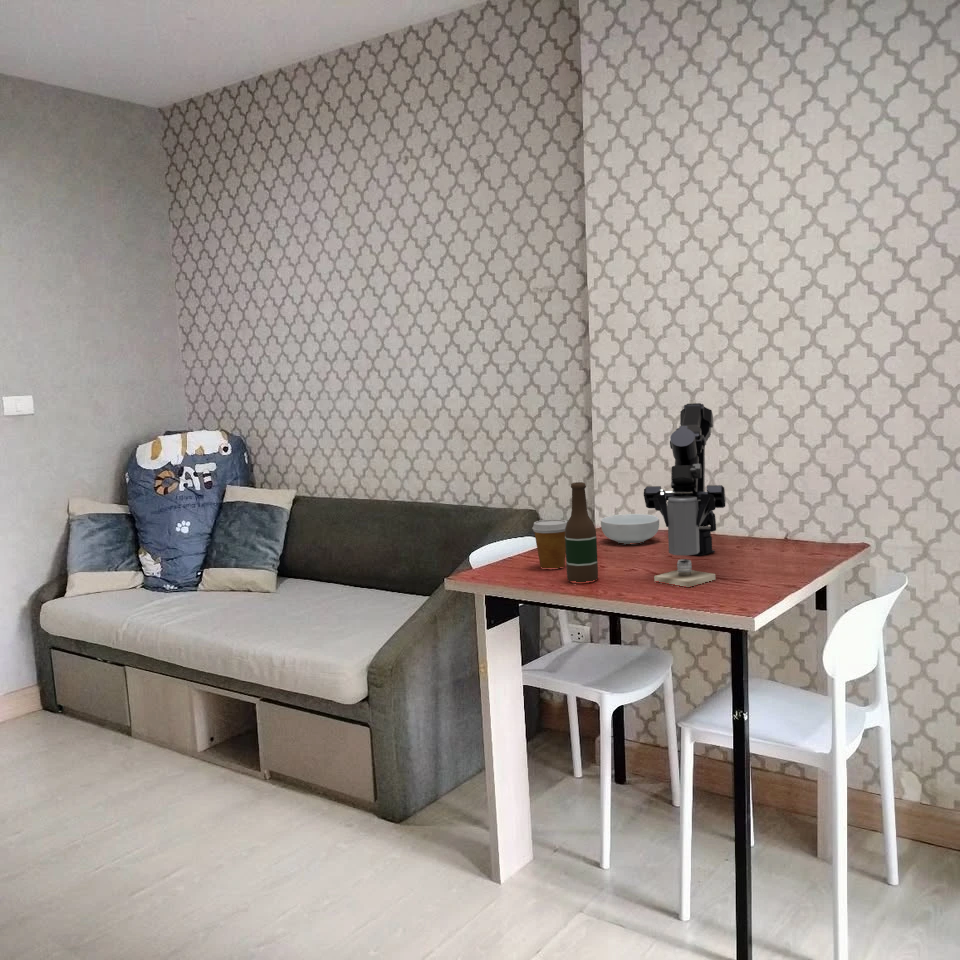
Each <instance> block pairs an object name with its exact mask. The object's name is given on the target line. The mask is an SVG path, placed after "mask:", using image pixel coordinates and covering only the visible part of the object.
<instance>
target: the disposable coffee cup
mask: <svg viewBox="0 0 960 960" xmlns="http://www.w3.org/2000/svg"><path fill="white" fill-rule="evenodd" d="M567 522H568V520H566V519H565V520H564V519H542V520H537V521H534V522H533V526H532V530H533V533H534V539H535V542H536V543H535V544H536V549H537V554H538V561H539V566H540V567H542V568H560V567H564V566H565V565H566V547H565V528H566V524H567ZM564 568H565V567H564Z"/></svg>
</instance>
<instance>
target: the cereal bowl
mask: <svg viewBox="0 0 960 960" xmlns="http://www.w3.org/2000/svg"><path fill="white" fill-rule="evenodd" d="M600 526H601V532H602V533H603V535H604V536H605V537H606V538H608V539H609V540H612V541H615V542H616V543H617V542H618V543H617V544H619V543H624V544H623V545H626V544H630V543H640V542H643V543H645V542H644V541H647V540H650V539H652V538H653V537H654V536H655V535H656V534H657V533H658V532H659V529H660V518H659V517H658V516H657V515H654V514H648V513H624V514H623V513H622V514H614V515H610V516H605V517H602V518H601V519H600ZM640 544H641V543H640Z"/></svg>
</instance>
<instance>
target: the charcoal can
mask: <svg viewBox="0 0 960 960" xmlns="http://www.w3.org/2000/svg"><path fill="white" fill-rule="evenodd" d="M667 512H668V527H667V530H668V533H667V536H668V537H667V538H668V541H667V542H668V554H670V555H673V556H692V555H693V556H695V555H694V554H698V553H699V552H700V548H699V527H698V525H697V520H698V500H697V497H695V496H674V497H669V498H668V500H667Z"/></svg>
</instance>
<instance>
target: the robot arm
mask: <svg viewBox="0 0 960 960" xmlns="http://www.w3.org/2000/svg"><path fill="white" fill-rule="evenodd" d="M679 419H680V421H679V422H680V423H679V424H680V425H679V427H678V428H676V429H675V431H673V432H672V433H671V435H670V440H669V447H670V449H671V450H672V456H673V458H674V465H673V466H671V476H670V477H671V479H670V487H671V489H672V491H671V490H670V491H669V490H667V491H666V490H664V489H662V486H661V485H660V486H659V485H653V486H652V485H651V486H650V485H649V486H646V487H645V488H644V489H643V497H644V498H643V499H644V503H645V507H646V508H648V509H655V511H658V512H659V513H660V514H661V515H662V517H663V520H664V521H663V522H664V523H665V526H666V527H667V528H668V512H667V502H668V498H669V497H674V496H695V497H697V500H698V520H697V525H698V527H699V548H700V552H699V553H698V554H694V555H693V556H698V557H700V556H705V555H709V554H712V553H716V552H715V551H716V550H715V549H713V536H712V533H713V532H715V531H717V522H716V521H717V519H716V514H715V513H714V511H715V510H716V509H720V508H721V509H723V508H725V507H726V502H727V501H726V491H725V490H726V489H725V487H724V486H723V485H721V484H716V485H714V484H713V485H710V484H709V485H705V483H706V482H705V481H706V480H705V474H706V473H705V470H706V467H705V465H706V456H705V455H706V452H705V450H706V445H707V441H708V440H709V439H710V437H711V434H712V428H714V414H713V411H712V409H710V408H708V407H706V406H705V405H704V403H700V402H697V403H686V404H684V405H683V409H682V410H680V418H679ZM705 486H706V491H705Z"/></svg>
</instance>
